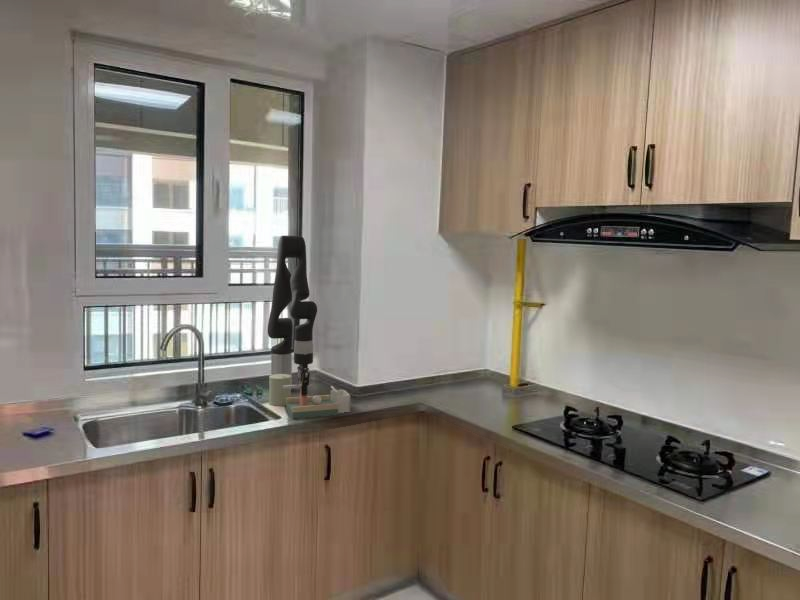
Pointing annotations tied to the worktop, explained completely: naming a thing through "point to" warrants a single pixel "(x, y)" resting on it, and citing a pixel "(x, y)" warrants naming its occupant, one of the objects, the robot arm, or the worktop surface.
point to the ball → (316, 400)
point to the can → (279, 389)
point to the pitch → (311, 407)
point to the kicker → (302, 398)
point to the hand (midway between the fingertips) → (303, 393)
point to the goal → (340, 400)
